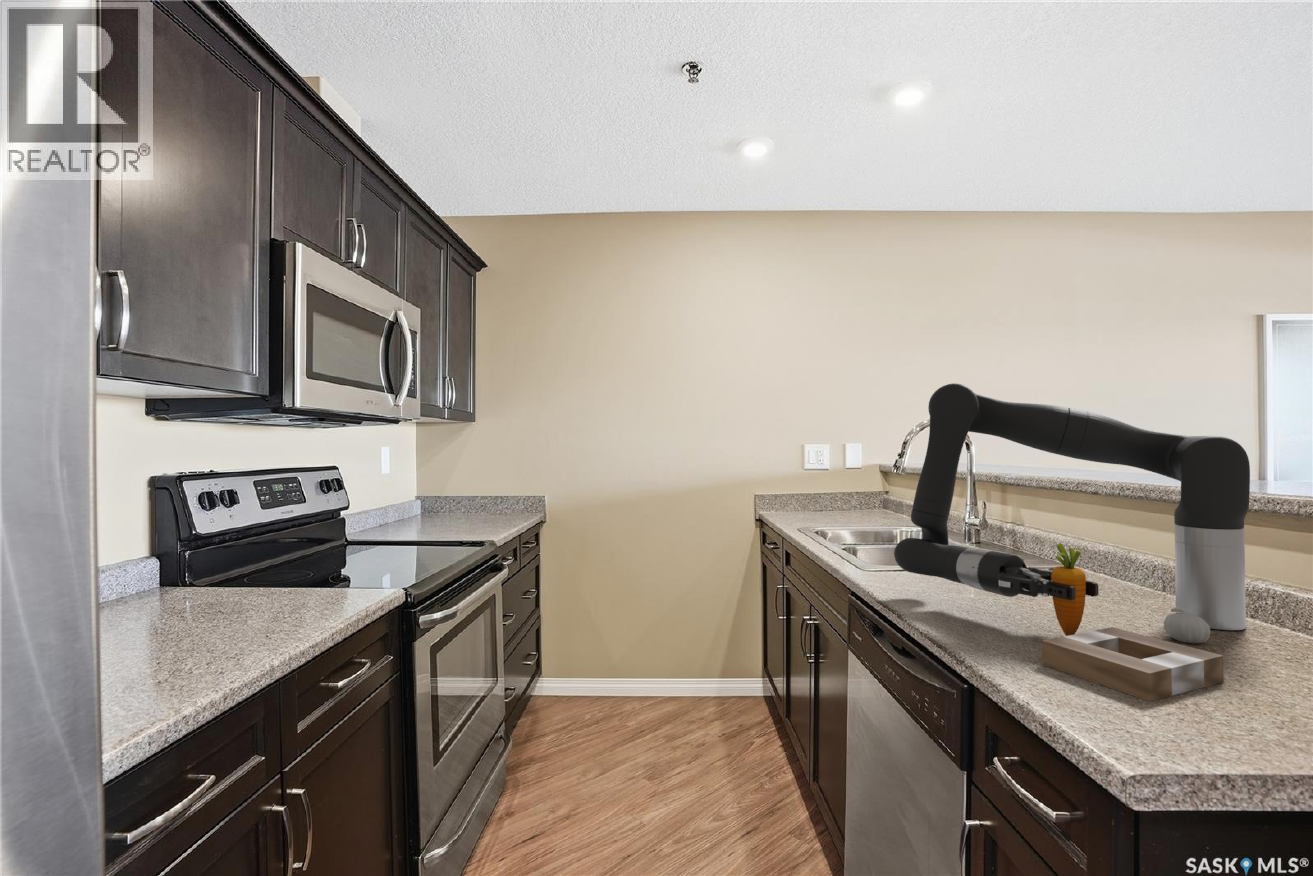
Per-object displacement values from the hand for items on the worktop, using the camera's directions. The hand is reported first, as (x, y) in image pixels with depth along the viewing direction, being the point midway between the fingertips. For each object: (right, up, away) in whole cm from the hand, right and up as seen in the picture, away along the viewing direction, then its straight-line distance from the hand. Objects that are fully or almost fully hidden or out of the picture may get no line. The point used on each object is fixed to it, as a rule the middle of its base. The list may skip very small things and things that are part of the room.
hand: (1085, 591), depth 97 cm
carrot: (-1, -8, +2) cm, 9 cm away
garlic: (+18, -9, +3) cm, 20 cm away
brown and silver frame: (-1, -9, -11) cm, 14 cm away
